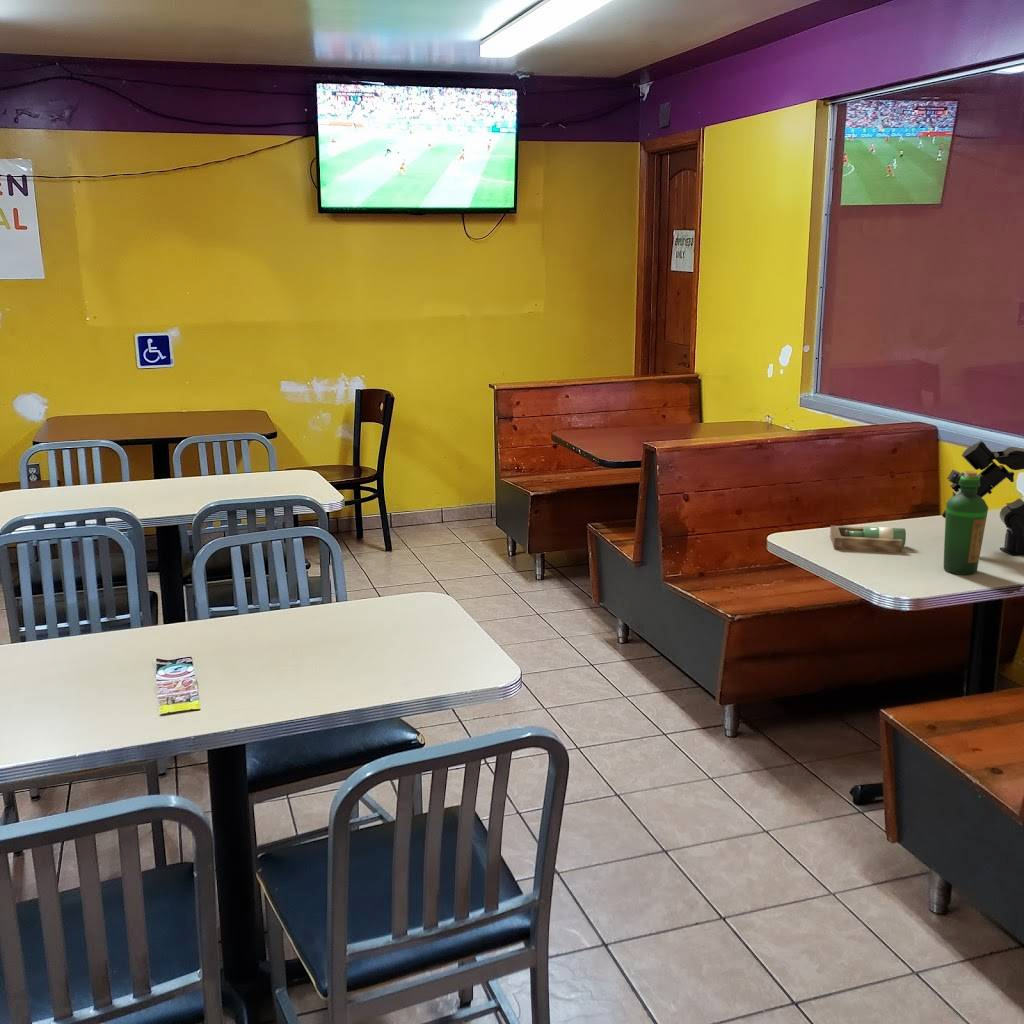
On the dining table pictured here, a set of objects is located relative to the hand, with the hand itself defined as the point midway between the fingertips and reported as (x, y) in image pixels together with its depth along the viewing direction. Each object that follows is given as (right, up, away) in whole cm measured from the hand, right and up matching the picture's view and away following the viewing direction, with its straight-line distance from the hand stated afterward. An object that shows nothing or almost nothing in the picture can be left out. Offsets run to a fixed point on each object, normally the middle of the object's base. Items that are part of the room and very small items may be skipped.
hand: (942, 516), depth 303 cm
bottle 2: (-3, -15, -19) cm, 24 cm away
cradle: (-21, -8, +7) cm, 24 cm away
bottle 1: (-10, -6, +3) cm, 12 cm away
